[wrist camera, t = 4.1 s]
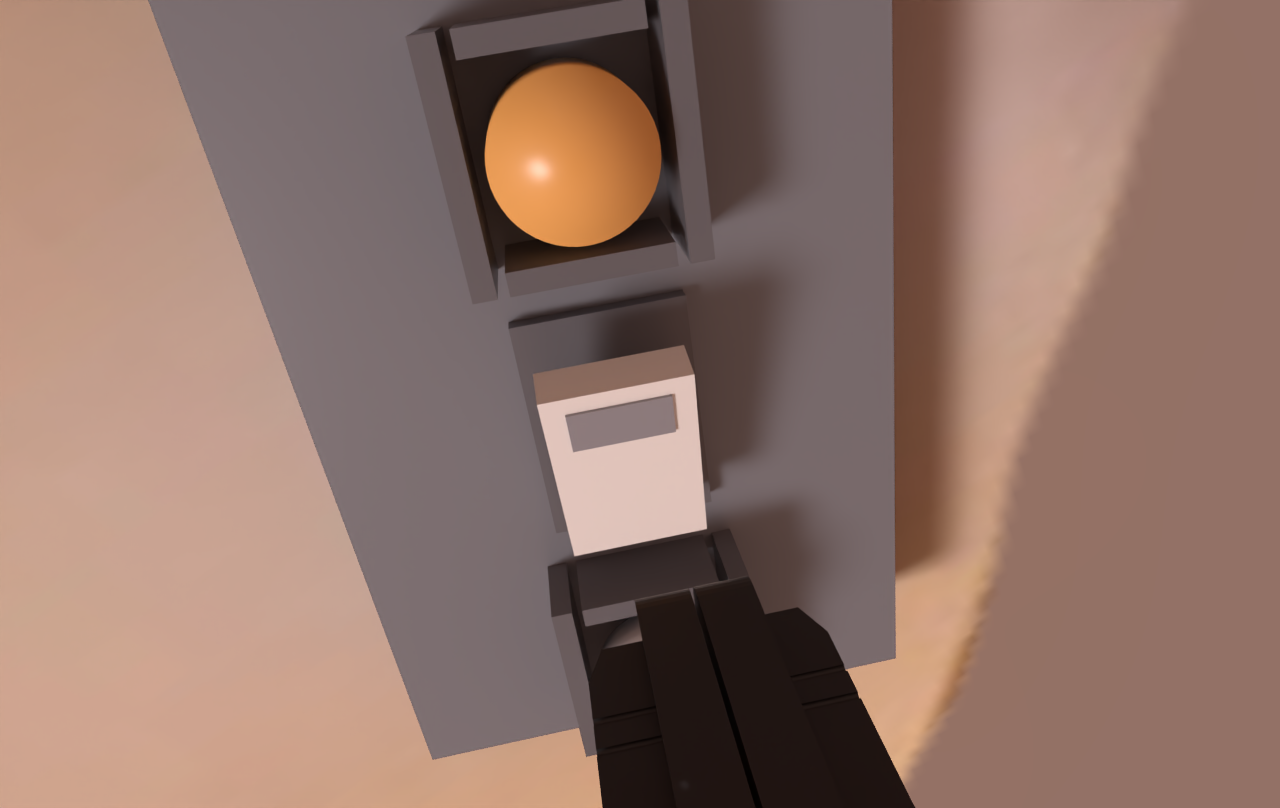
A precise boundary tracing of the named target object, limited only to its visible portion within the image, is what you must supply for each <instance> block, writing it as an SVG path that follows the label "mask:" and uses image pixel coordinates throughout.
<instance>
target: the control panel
mask: <svg viewBox="0 0 1280 808" xmlns="http://www.w3.org/2000/svg"><path fill="white" fill-rule="evenodd" d="M148 1H149V4H150V6H151V9H152V12H153V14H154V17H155V20H156V22H157V25H158V28H159V30H160V33H161V36H162V38H163V41H164V44H165V46H166V49H167V52H168V54H169V57H170V60H171V62H172V65H173V68H174V70H175V73H176V76H177V78H178V81H179V84H180V86H181V89H182V92H183V94H184V97H185V100H186V102H187V105H188V108H189V110H190V113H191V116H192V118H193V121H194V124H195V126H196V129H197V132H198V134H199V137H200V140H201V142H202V145H203V148H204V150H205V153H206V156H207V158H208V161H209V164H210V166H211V169H212V172H213V174H214V177H215V180H216V182H217V185H218V188H219V190H220V193H221V196H222V198H223V201H224V204H225V206H226V209H227V212H228V214H229V217H230V220H231V223H232V225H233V228H234V231H235V233H236V236H237V239H238V241H239V244H240V247H241V249H242V252H243V255H244V257H245V260H246V263H247V265H248V268H249V271H250V273H251V276H252V279H253V281H254V284H255V287H256V289H257V292H258V295H259V297H260V300H261V303H262V305H263V308H264V311H265V313H266V316H267V319H268V321H269V324H270V327H271V329H272V332H273V335H274V337H275V340H276V343H277V345H278V348H279V351H280V353H281V356H282V359H283V361H284V364H285V367H286V369H287V372H288V375H289V377H290V380H291V383H292V385H293V388H294V391H295V393H296V396H297V399H298V401H299V404H300V407H301V409H302V412H303V415H304V417H305V420H306V423H307V425H308V428H309V431H310V433H311V436H312V439H313V441H314V444H315V447H316V449H317V452H318V455H319V457H320V460H321V463H322V465H323V468H324V471H325V473H326V476H327V479H328V481H329V484H330V487H331V489H332V492H333V495H334V497H335V500H336V503H337V505H338V508H339V511H340V514H341V516H342V519H343V522H344V524H345V527H346V530H347V532H348V535H349V538H350V540H351V543H352V546H353V548H354V551H355V554H356V556H357V559H358V562H359V564H360V567H361V570H362V572H363V575H364V578H365V580H366V583H367V586H368V588H369V591H370V594H371V596H372V599H373V602H374V604H375V607H376V610H377V612H378V615H379V618H380V620H381V623H382V626H383V628H384V631H385V634H386V636H387V639H388V642H389V644H390V647H391V650H392V652H393V655H394V658H395V660H396V663H397V666H398V668H399V671H400V674H401V676H402V679H403V682H404V684H405V687H406V690H407V692H408V695H409V698H410V700H411V703H412V706H413V708H414V711H415V714H416V716H417V719H418V722H419V724H420V727H421V730H422V732H423V735H424V738H425V740H426V743H427V746H428V748H429V751H430V754H431V756H432V759H438V758H443V757H447V756H452V755H456V754H461V753H465V752H470V751H475V750H479V749H484V748H488V747H493V746H497V745H502V744H507V743H511V742H516V741H520V740H525V739H529V738H534V737H538V736H543V735H548V734H552V733H557V732H561V731H566V730H570V729H575V728H579V729H580V733H581V737H582V741H583V745H584V749H585V753H586V757H587V756H592V755H596V754H597V751H596V744H595V736H594V724H593V718H592V709H591V701H590V692H589V681H590V679H591V676H592V673H593V671H594V668H595V665H596V663H597V660H598V657H599V655H600V652H601V650H602V648H603V646H604V643H605V642H606V640H607V638H608V637H609V636H610V634H611V633H612V632H613V631H614V630H615V629H616V628H617V627H618V626H619V625H621V624H622V623H623V622H625V621H626V620H628V619H629V618H631V617H633V616H637V611H636V606H635V601H634V600H636V599H641V598H645V597H650V596H655V595H659V594H664V593H669V592H674V591H678V590H683V589H688V588H689V590H690V592H691V595H692V598H693V602H694V596H693V587H696V586H701V585H706V584H710V583H715V582H720V581H725V580H729V579H734V578H739V577H743V576H749V578H750V579H751V581H752V584H753V586H754V588H755V591H756V593H757V596H758V598H759V601H760V603H761V606H762V608H763V610H764V613H765V614H768V613H773V612H778V611H782V610H787V609H792V608H796V607H799V608H800V609H801V610H802V611H803V612H805V613H806V614H807V615H808V616H810V617H811V618H812V619H813V620H814V621H816V622H817V623H818V624H819V625H820V626H822V627H823V628H824V629H825V630H827V631H828V633H829V635H830V637H831V639H832V641H833V643H834V645H835V647H836V649H837V651H838V653H839V655H840V657H841V659H842V661H843V663H844V667H845V669H849V668H853V667H858V666H863V665H867V664H872V663H876V662H881V661H885V660H890V659H895V658H896V631H895V445H894V258H893V71H892V0H148ZM554 58H577V59H582V60H586V61H589V62H592V63H595V64H597V65H599V66H601V67H603V68H605V69H607V70H608V71H610V72H611V73H613V74H614V75H615V76H617V77H618V78H619V79H620V80H621V81H622V82H624V83H625V84H626V85H627V86H628V87H629V88H630V89H632V90H633V91H634V92H635V93H636V94H637V95H638V97H639V98H640V99H641V100H642V101H643V103H644V104H645V106H646V107H647V109H648V110H649V112H650V114H651V116H652V118H653V120H654V122H655V125H656V128H657V131H658V134H659V140H660V145H661V170H660V175H659V180H658V183H657V186H656V190H655V192H654V194H653V196H652V198H651V201H650V202H649V204H648V206H647V207H646V209H645V210H644V212H643V213H642V214H641V215H640V216H639V218H638V219H637V220H636V221H635V222H634V223H633V224H632V225H631V226H630V227H628V228H627V229H626V230H624V231H623V232H621V233H620V234H618V235H616V236H615V237H613V238H611V239H609V240H606V241H604V242H601V243H597V244H593V245H589V246H581V247H566V246H559V245H554V244H550V243H547V242H544V241H541V240H539V239H537V238H535V237H533V236H531V235H529V234H528V233H526V232H524V231H523V230H522V229H520V228H519V227H518V226H517V225H515V224H514V223H513V222H512V221H511V220H510V219H509V218H508V216H507V215H506V214H505V213H504V211H503V210H502V209H501V207H500V206H499V204H498V202H497V201H496V199H495V197H494V195H493V192H492V190H491V188H490V185H489V181H488V178H487V173H486V167H485V145H486V136H487V126H488V121H489V117H490V113H491V111H492V108H493V106H494V103H495V101H496V100H497V98H498V96H499V94H500V93H501V91H502V90H503V89H504V87H505V86H506V85H507V84H508V83H509V82H510V81H511V80H512V79H513V78H514V77H515V76H516V75H517V74H519V73H520V72H521V71H523V70H524V69H526V68H528V67H530V66H531V65H534V64H536V63H539V62H541V61H545V60H549V59H554ZM681 345H684V347H685V349H686V352H687V355H688V358H689V360H690V363H691V366H692V369H693V372H694V375H695V387H696V399H697V412H698V424H699V437H700V449H701V461H702V474H703V486H704V499H705V511H706V523H707V529H704V530H699V531H695V532H690V533H685V534H680V535H675V536H670V537H665V538H661V539H656V540H651V541H646V542H641V543H636V544H632V545H627V546H622V547H617V548H612V549H607V550H602V551H598V552H593V553H588V554H583V555H578V556H574V552H573V548H572V544H571V540H570V536H569V532H568V528H567V524H566V520H565V516H564V512H563V508H562V504H561V500H560V496H559V492H558V488H557V484H556V480H555V476H554V472H553V468H552V464H551V460H550V456H549V452H548V448H547V444H546V440H545V436H544V432H543V428H542V424H541V420H540V416H539V412H538V408H537V402H536V394H535V387H534V379H533V374H535V373H541V372H546V371H551V370H556V369H561V368H567V367H572V366H577V365H582V364H587V363H593V362H598V361H603V360H608V359H613V358H619V357H624V356H629V355H634V354H639V353H645V352H650V351H655V350H660V349H665V348H671V347H676V346H681ZM694 605H695V603H694Z"/></svg>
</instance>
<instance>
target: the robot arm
mask: <svg viewBox="0 0 1280 808" xmlns="http://www.w3.org/2000/svg"><path fill="white" fill-rule="evenodd" d="M693 596H694V602H693V598H692V595H691V592H690V590H689V588H688V589H683V590H678V591H674V592H669V593H664V594H659V595H655V596H650V597H645V598H641V599H636V600H634V601H635V606H636V611H637V616H638V622H639V627H640V632H641V637H642V641H639V642H634V643H630V644H625V645H620V646H616V647H611V648H606V649H602V650H601V652H600V655H599V657H598V660H597V663H596V665H595V668H594V671H593V673H592V676H591V679H590V681H589V692H590V701H591V709H592V718H593V724H594V736H595V744H596V751H597V762H598V771H599V779H600V788H601V797H602V806H603V808H915V806H914V805H913V803H912V801H911V799H910V797H909V795H908V793H907V791H906V789H905V787H904V785H903V783H902V781H901V779H900V776H899V774H898V772H897V770H896V768H895V766H894V764H893V762H892V760H891V758H890V756H889V754H888V752H887V750H886V748H885V746H884V744H883V742H882V740H881V738H880V736H879V734H878V732H877V730H876V728H875V726H874V724H873V722H872V720H871V718H870V716H869V714H868V712H867V710H866V708H865V706H864V704H863V702H862V700H861V699H859V696H858V692H857V689H856V687H855V685H854V683H853V681H852V679H851V677H850V675H849V673H848V671H846V670H845V667H844V663H843V661H842V659H841V657H840V655H839V653H838V651H837V649H836V647H835V645H834V643H833V641H832V639H831V637H830V635H829V633H828V631H827V630H825V629H824V628H823V627H822V626H820V625H819V624H818V623H817V622H816V621H814V620H813V619H812V618H811V617H810V616H808V615H807V614H806V613H805V612H803V611H802V610H801V609H800V608H799V607H796V608H792V609H787V610H782V611H778V612H773V613H768V614H765V613H764V610H763V608H762V606H761V603H760V601H759V598H758V596H757V593H756V591H755V588H754V586H753V584H752V581H751V579H750V578H749V576H743V577H739V578H734V579H729V580H725V581H720V582H715V583H710V584H706V585H701V586H696V587H693ZM694 603H695V605H694Z"/></svg>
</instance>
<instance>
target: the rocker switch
mask: <svg viewBox="0 0 1280 808" xmlns="http://www.w3.org/2000/svg"><path fill="white" fill-rule="evenodd" d="M533 379H534V387H535V394H536V402H537V408H538V412H539V416H540V420H541V424H542V428H543V432H544V436H545V440H546V444H547V448H548V452H549V456H550V460H551V464H552V468H553V472H554V476H555V480H556V484H557V488H558V492H559V496H560V500H561V504H562V508H563V512H564V516H565V520H566V524H567V528H568V532H569V536H570V540H571V544H572V548H573V552H574V556H578V555H583V554H588V553H593V552H598V551H602V550H607V549H612V548H617V547H622V546H627V545H632V544H636V543H641V542H646V541H651V540H656V539H661V538H665V537H670V536H675V535H680V534H685V533H690V532H695V531H699V530H704V529H707V523H706V511H705V499H704V486H703V474H702V461H701V449H700V437H699V424H698V412H697V399H696V387H695V375H694V372H693V369H692V366H691V363H690V360H689V358H688V355H687V352H686V349H685V347H684V345H681V346H676V347H671V348H665V349H660V350H655V351H650V352H645V353H639V354H634V355H629V356H624V357H619V358H613V359H608V360H603V361H598V362H593V363H587V364H582V365H577V366H572V367H567V368H561V369H556V370H551V371H546V372H541V373H535V374H533Z"/></svg>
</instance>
